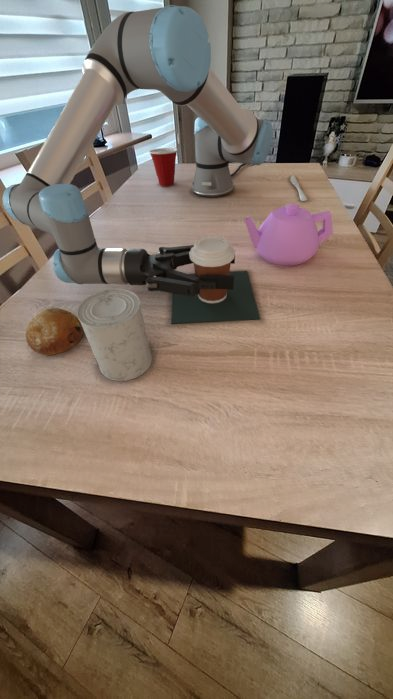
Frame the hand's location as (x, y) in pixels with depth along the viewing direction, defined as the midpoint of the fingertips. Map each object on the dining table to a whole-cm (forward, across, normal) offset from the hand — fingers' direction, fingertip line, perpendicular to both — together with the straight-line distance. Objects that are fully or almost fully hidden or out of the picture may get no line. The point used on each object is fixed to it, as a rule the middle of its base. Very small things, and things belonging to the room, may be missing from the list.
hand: (234, 269), depth 62 cm
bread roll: (-34, +16, -7) cm, 38 cm away
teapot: (+13, -20, -7) cm, 24 cm away
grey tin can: (-19, +20, -7) cm, 29 cm away
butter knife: (+22, -68, -7) cm, 72 cm away
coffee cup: (-5, 0, -7) cm, 8 cm away
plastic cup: (-29, -74, -7) cm, 80 cm away
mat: (-5, 0, -7) cm, 8 cm away
